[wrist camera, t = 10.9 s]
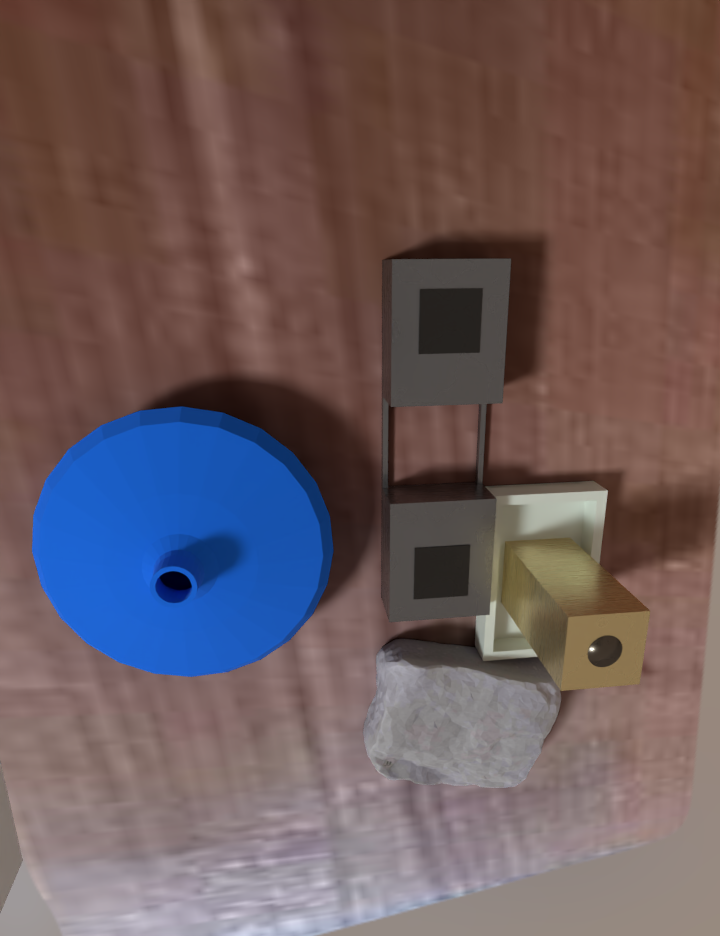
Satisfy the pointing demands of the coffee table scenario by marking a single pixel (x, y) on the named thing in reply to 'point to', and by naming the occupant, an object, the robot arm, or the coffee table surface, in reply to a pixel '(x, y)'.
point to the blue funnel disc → (182, 541)
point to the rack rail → (440, 383)
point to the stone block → (457, 715)
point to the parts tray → (531, 518)
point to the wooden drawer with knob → (574, 614)
